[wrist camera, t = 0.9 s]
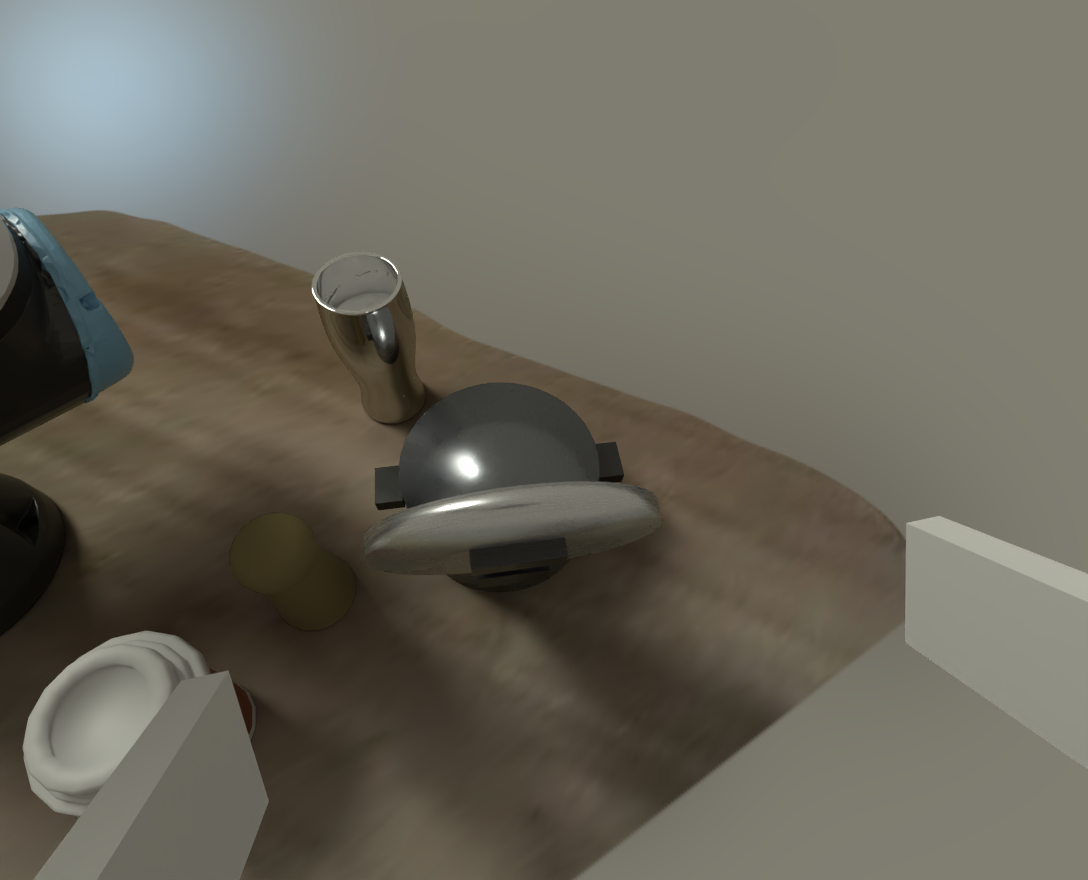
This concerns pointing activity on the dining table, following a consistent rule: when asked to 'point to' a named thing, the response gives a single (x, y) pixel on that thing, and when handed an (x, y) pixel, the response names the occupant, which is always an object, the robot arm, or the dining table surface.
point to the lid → (511, 528)
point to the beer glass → (372, 331)
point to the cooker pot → (495, 457)
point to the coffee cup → (106, 713)
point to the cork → (292, 571)
